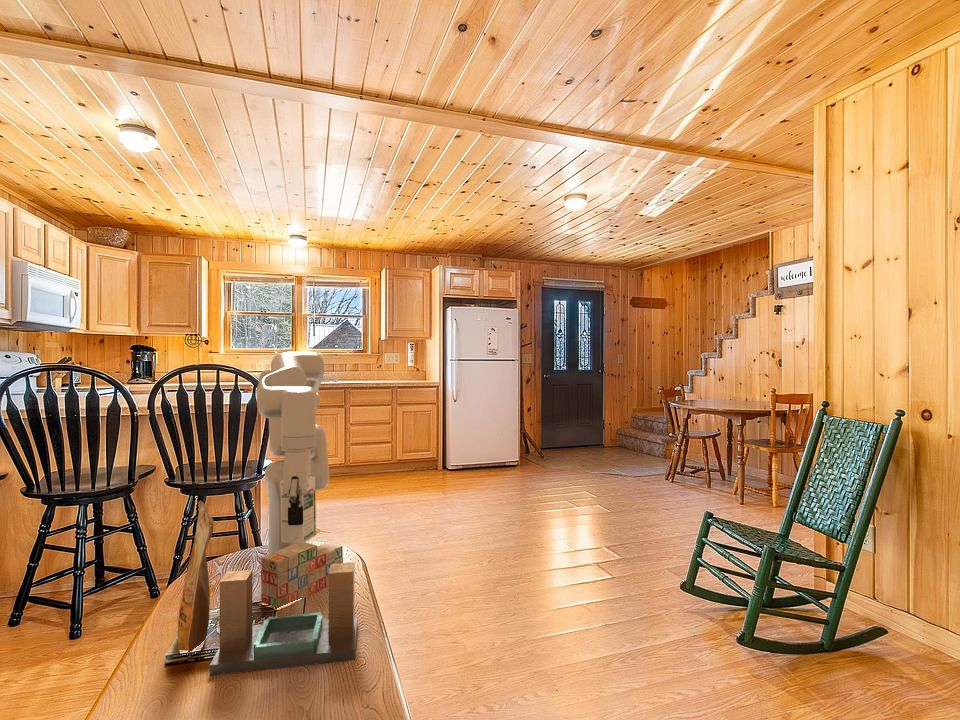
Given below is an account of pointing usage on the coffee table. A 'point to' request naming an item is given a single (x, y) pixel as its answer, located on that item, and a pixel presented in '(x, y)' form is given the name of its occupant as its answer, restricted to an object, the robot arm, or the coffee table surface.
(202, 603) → the pancake mix bag
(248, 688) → the coffee table surface
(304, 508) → the syrup box
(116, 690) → the coffee table surface
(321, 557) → the stack of blocks
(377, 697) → the coffee table surface
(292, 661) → the grey and tan stand
